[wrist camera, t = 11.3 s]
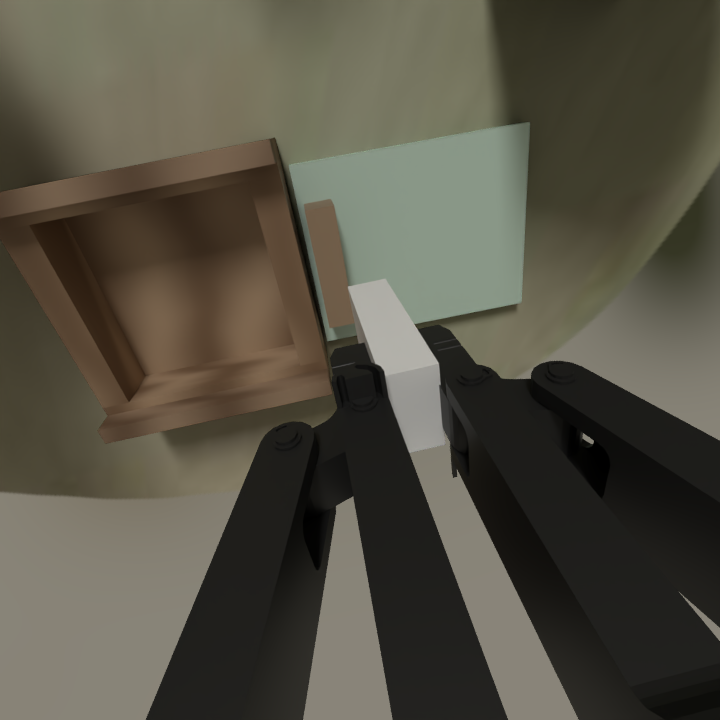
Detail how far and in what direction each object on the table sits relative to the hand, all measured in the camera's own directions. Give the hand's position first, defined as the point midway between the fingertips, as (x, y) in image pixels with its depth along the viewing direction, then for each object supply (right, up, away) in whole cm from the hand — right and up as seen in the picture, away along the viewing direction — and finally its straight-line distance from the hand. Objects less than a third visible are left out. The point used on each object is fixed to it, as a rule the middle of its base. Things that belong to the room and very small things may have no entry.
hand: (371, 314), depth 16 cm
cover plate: (+3, +6, +11) cm, 13 cm away
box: (-11, +3, +10) cm, 15 cm away
